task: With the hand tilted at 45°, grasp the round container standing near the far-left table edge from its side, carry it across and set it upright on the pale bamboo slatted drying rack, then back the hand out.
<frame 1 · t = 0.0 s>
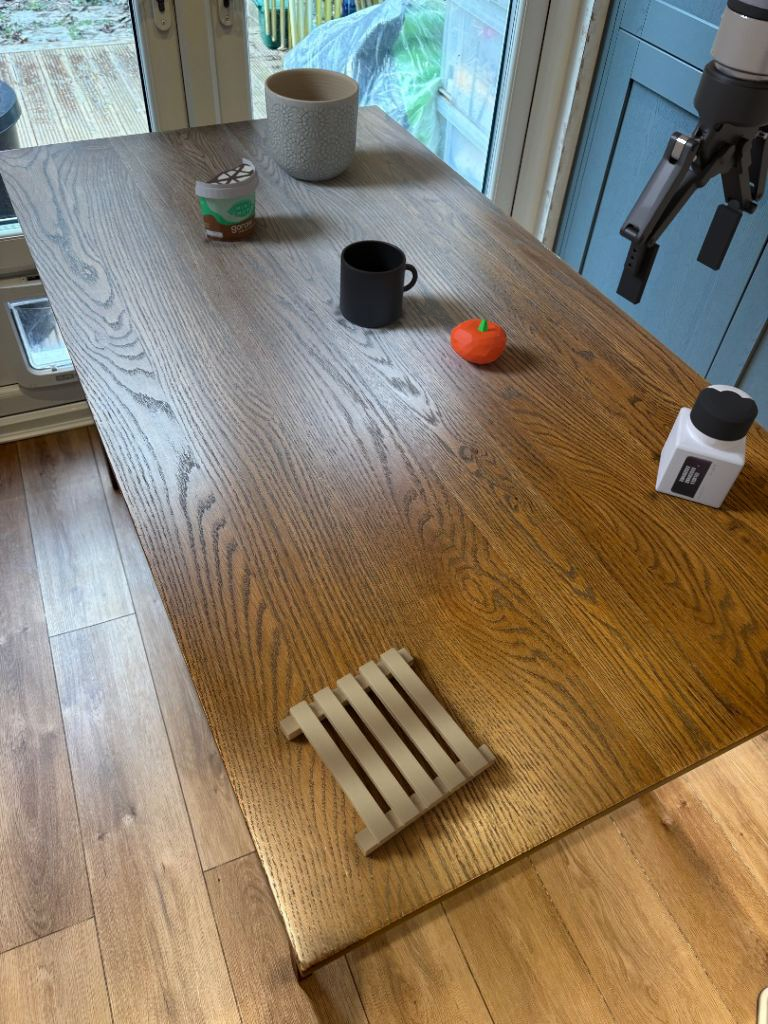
hand: (668, 281, 83), 22 cm above the table, tool pointing down, fingers open, 13 cm apart
pumpkin: (475, 358, 108), on the table
rack: (386, 745, 67), on the table
container: (688, 481, 93), on the table
planter: (312, 171, 146), on the table
mug: (378, 310, 115), on the table
food container: (240, 234, 128), on the table
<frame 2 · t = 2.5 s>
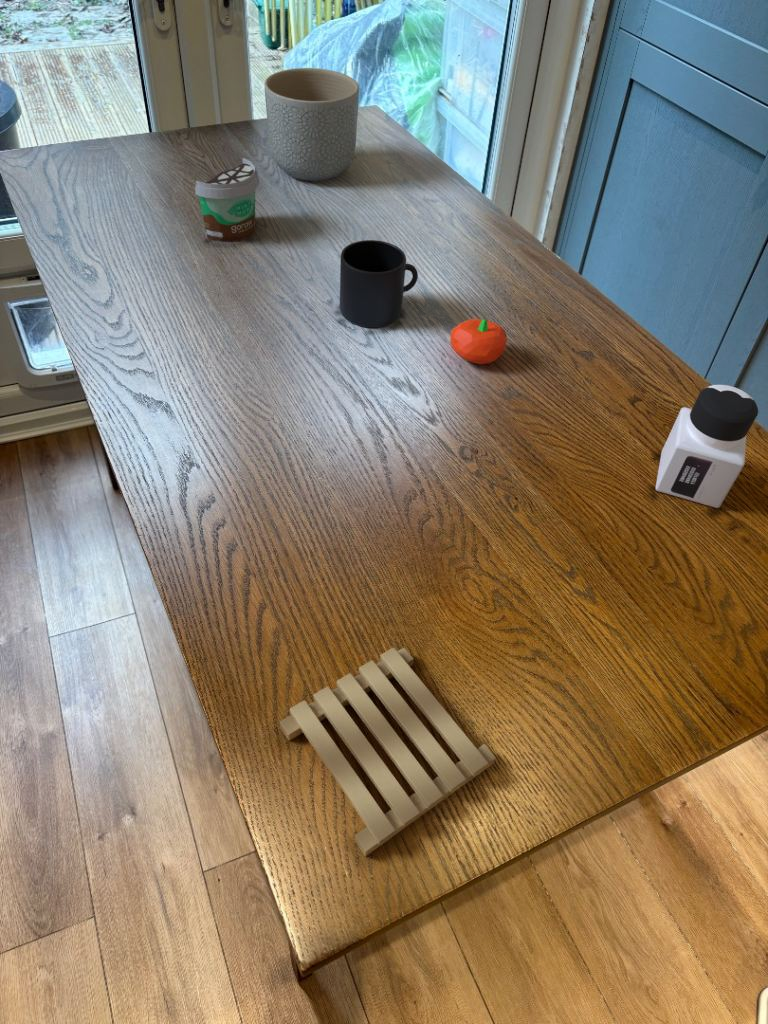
nothing on the table moved.
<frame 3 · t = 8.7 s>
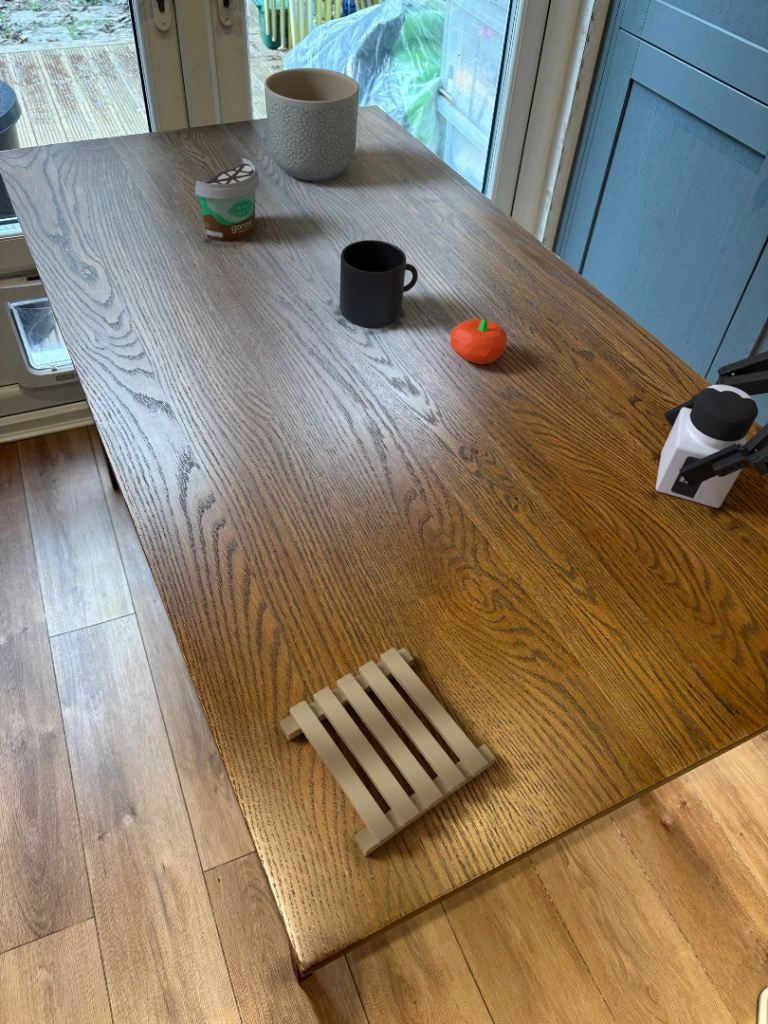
hand: (677, 448, 89), 5 cm above the table, tool tilted 45°, fingers closed on container, 9 cm apart
container: (688, 481, 93), on the table, touching gripper
everything else where it was.
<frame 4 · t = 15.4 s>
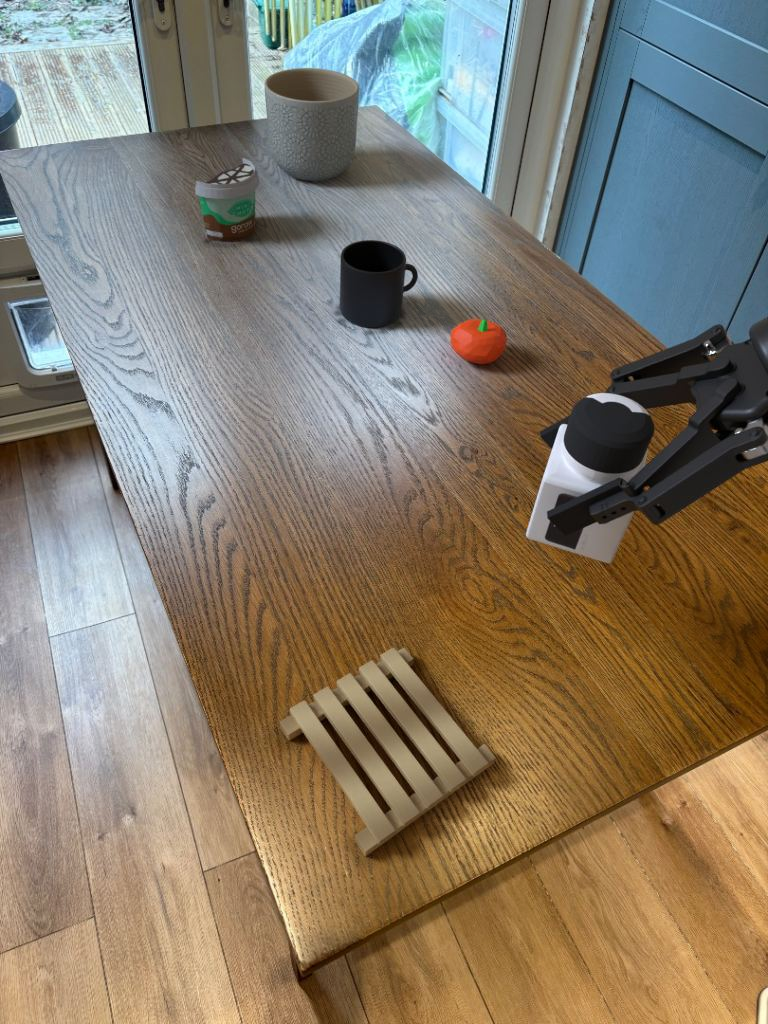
hand: (552, 481, 65), 19 cm above the table, tool tilted 45°, fingers closed on container, 9 cm apart
container: (574, 524, 68), point 14 cm above the table, touching gripper
everything else where it was.
when the fingers open (7 cm above the table, at t = 22.0 s): container stays where it is, resting on rack.
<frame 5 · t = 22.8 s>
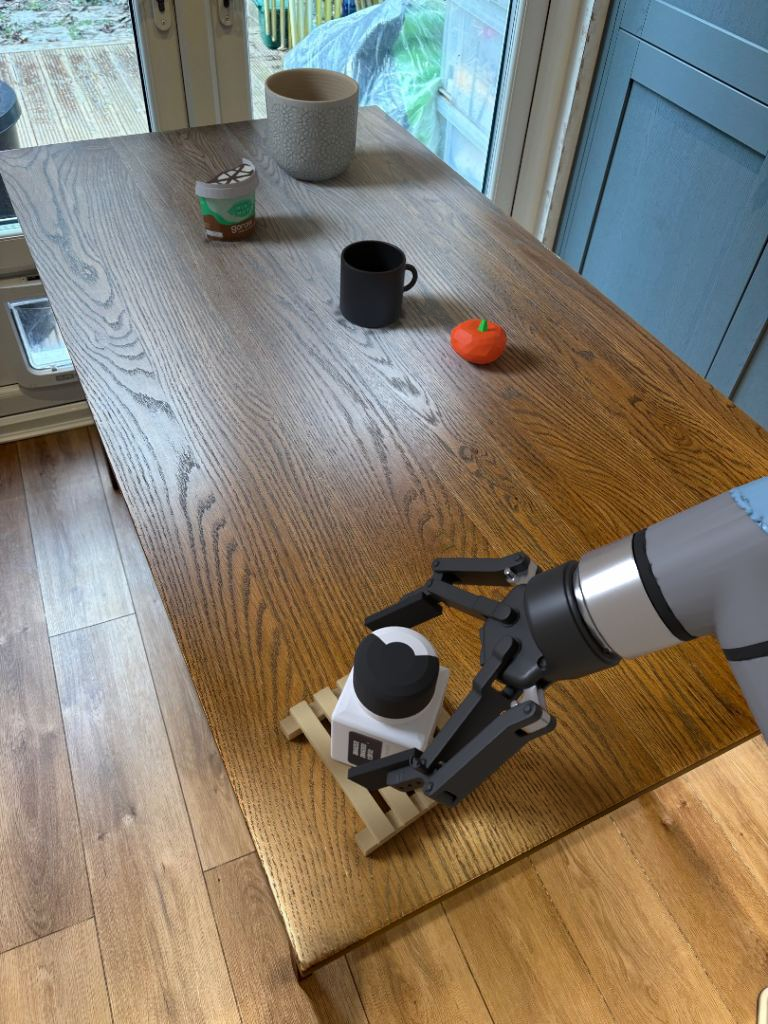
hand: (367, 699, 61), 8 cm above the table, tool tilted 45°, fingers open, 13 cm apart
container: (386, 735, 66), point 2 cm above the table, touching rack
everything else where it was.
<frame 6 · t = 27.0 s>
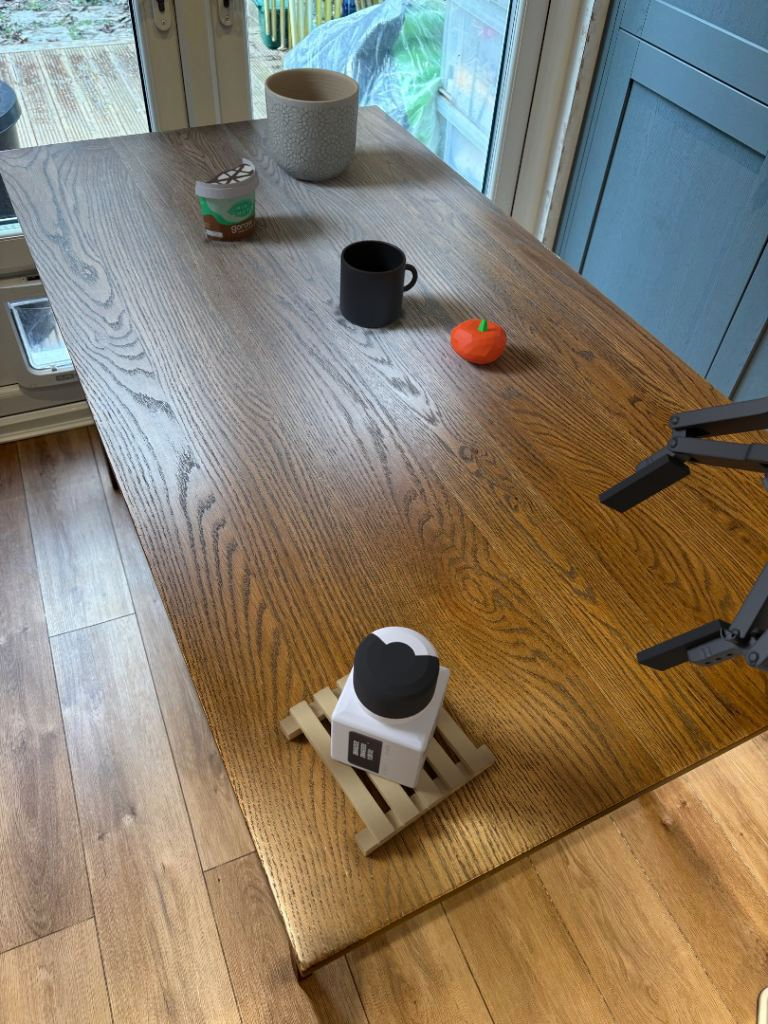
hand: (627, 578, 57), 20 cm above the table, tool tilted 35°, fingers open, 13 cm apart
nothing on the table moved.
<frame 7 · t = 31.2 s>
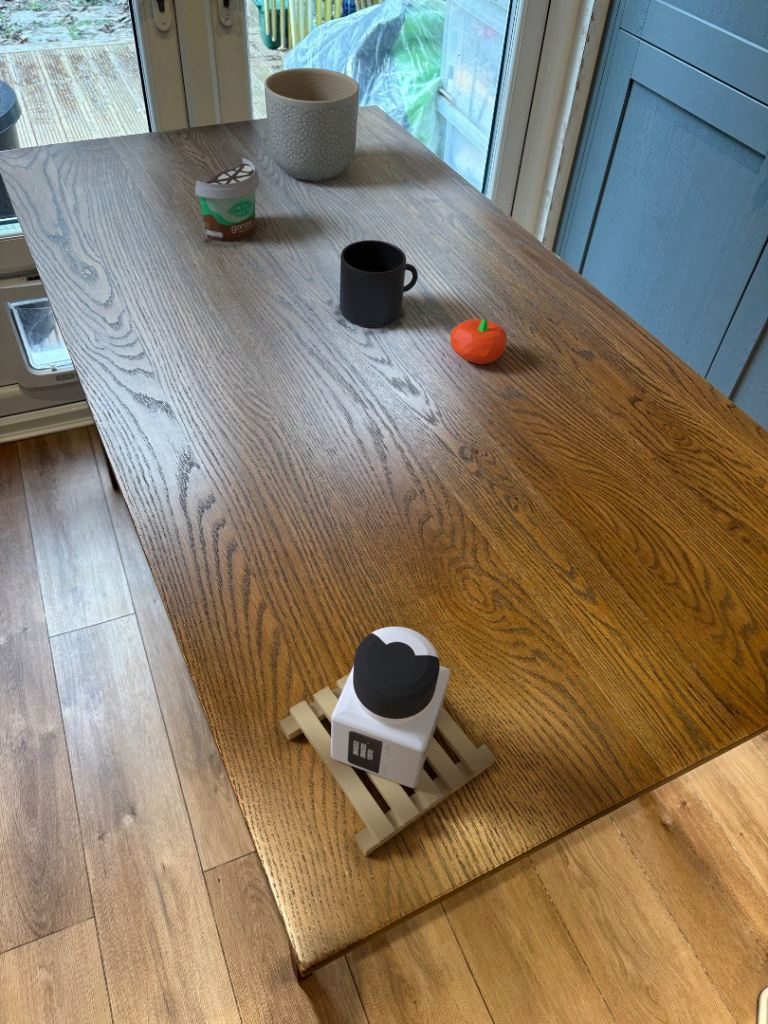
nothing on the table moved.
at the end: container inside the target area on the rack (0.1 cm from its centre), point 1.8 cm above the rack's base; container tilted 0°; the gripper is holding nothing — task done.
